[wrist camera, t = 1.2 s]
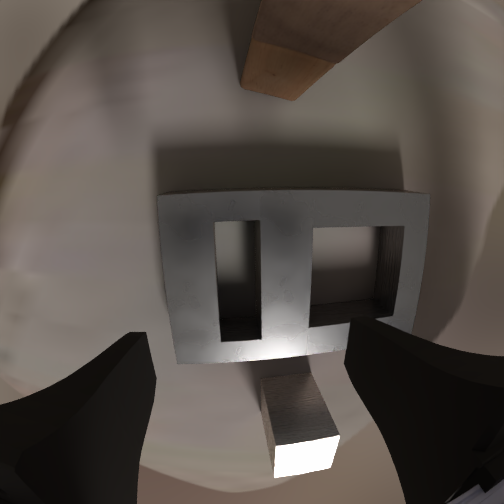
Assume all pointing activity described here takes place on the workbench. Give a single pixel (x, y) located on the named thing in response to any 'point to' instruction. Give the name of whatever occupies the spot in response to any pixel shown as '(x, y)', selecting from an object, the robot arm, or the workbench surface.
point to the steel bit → (297, 425)
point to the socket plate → (284, 268)
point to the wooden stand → (309, 40)
